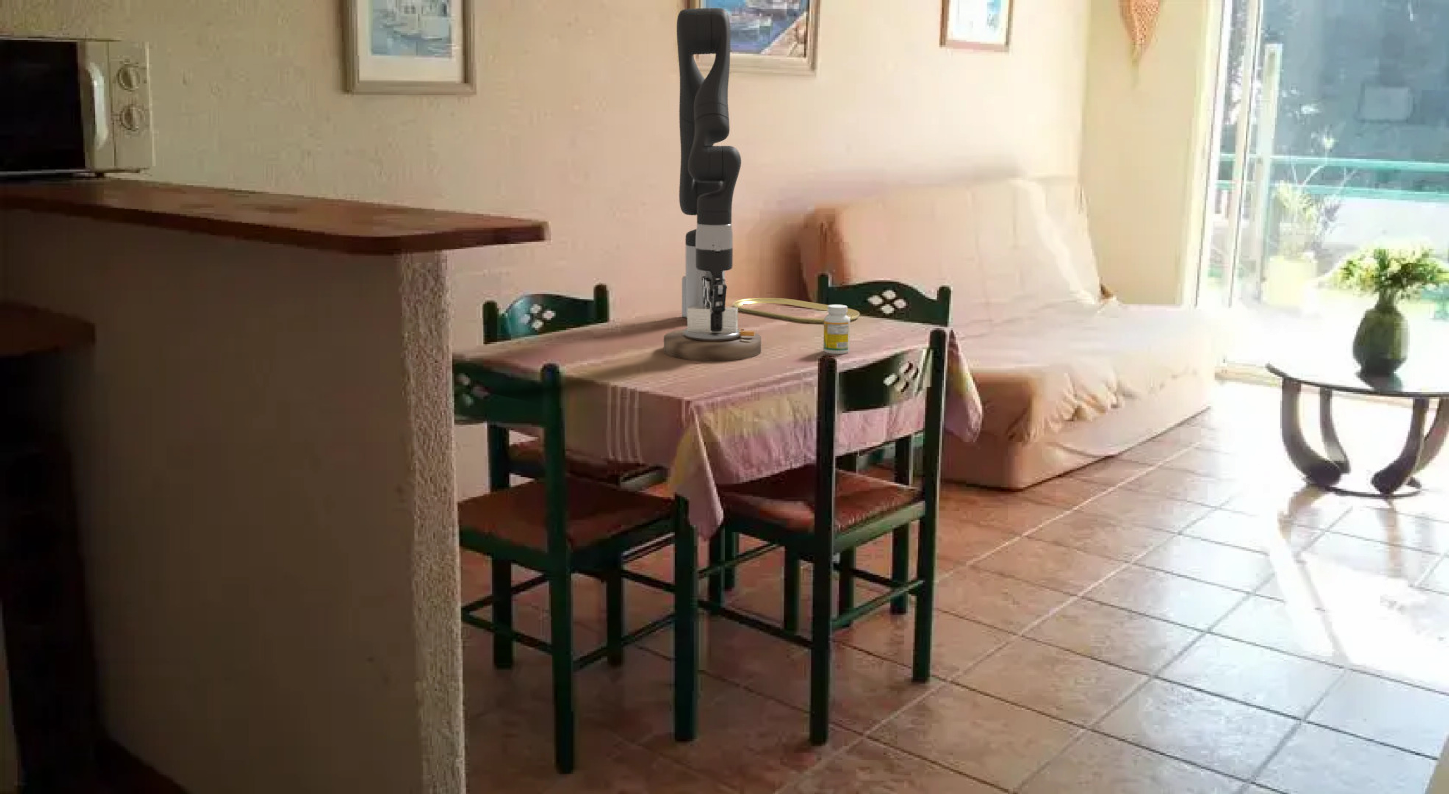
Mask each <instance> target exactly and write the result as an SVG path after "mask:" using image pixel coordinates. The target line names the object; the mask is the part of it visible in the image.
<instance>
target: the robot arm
mask: <svg viewBox="0 0 1449 794" xmlns="http://www.w3.org/2000/svg"><path fill="white" fill-rule="evenodd" d="M730 21H731V20H730V17H729V14H728V12H727V10H726V9H725V8H719V7H705V8H704V7H701V8H699V7H697V8H696V7H695V8H684V9H682V10H680V12H678V15H677V19H676V42H677V43H676V44H677V55H678V56H677V57H678V68H679V69H678V70H679V71H678V72H679V105H678V106H679V111H678V112H679V115H678V116H679V141H680V170H679V189H678V191H679V193H678V195H679V196H678V197H679V199H678V200H679V208H680V210H681V212H682V213H683V214H684V215H687V216H696V228H695V229H692V230H690V231H688V232H686V233H685V275H683V276H682V278H681V317H683V318H686V319H687V308H688V307H689V306H706V307H710V329H711V331H712V332H720V331H721V330H722V313H723V312H724V311H725V307H726V299H727V298H726V297H727V290H728V287H727V284H726V279H725V278H726V276H725V274H726V272H727V271H730V270H732V269H733V265H734V264H733V261H734V259H733V257H734V255H733V253H734V252H733V251H734V250H733V244H734V243H733V241H734V236H733V235H734V234H733V226H732V223H733V222H732V215H733V214H732V213H733V212H732V208H733V206H732V205H733V197H734V193H735V187H736V184H737V181H738V177H739V174H740V170H741V166H742V159H741V158H742V156H741V154H740V152H739V150H738V149H737V148H736V147H734V146H732V145H714V144H718V143H720V142H723V141H725V140H726V139H727V138H728V137H729V135H730V117H729V114H730V113H729V102H728V101H729V99H728V97H729V79H730V69H731V68H730V66H731V22H730ZM694 55H715V56H714V61H713V65H712V66H711V69H710V70H709V72H708V74H707V75H706V76H705V77H704V76H703V74H702V73H701V71H700V69H699V67H698V65H697V63H696V60H695V57H694ZM725 271H726V272H725Z"/></svg>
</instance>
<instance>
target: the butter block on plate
mask: <svg viewBox="0 0 1449 794" xmlns="http://www.w3.org/2000/svg"><path fill="white" fill-rule="evenodd" d="M686 321H687V328H685V330H684V329H683V330H684V331H683V336H684V337H685V338H688V339H691V340H698V341H729V340H735V339H739V338H741V337H742V336H754V335H755V333H756V330H740V329H741V328H740V329H739V327H738V325H739V322H738V321H739V310H738V308H735V307H734V306H732V307H729V306H728V307H727V306H725V311H724V312H723V313H722V330H721V331H720V332H712V331H711V329H710V307H706V306H689V307H688V308H687V318H686Z"/></svg>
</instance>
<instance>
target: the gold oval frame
mask: <svg viewBox="0 0 1449 794" xmlns="http://www.w3.org/2000/svg"><path fill="white" fill-rule="evenodd" d="M743 304H748V305H756V304H757V305H758V304H776V305H777V304H778V305H779V304H780V305H789V306H790V305H791V306H796V307H802V308H808V309H814V310H820V311H826V312H828V305H829V304H825V303H818V302H817V303H816V302H809V301H805V300H798V299H792V298H791V299H790V298H783V297H782V298H781V297H779V298H778V297H757V298H756V297H753V298H743V299H738V300H736V301H735V300H734V301H733V302H732V307H735V308H738V312H743V313H748V314H753V315H759V316H764V317H765V316H766V317H770V318H775V319H777V318H778V319H781V320H786V319H788V320H789V321H792V320H793V322H799V323H806V322H809V323H808V324H824V318H812V317H811V318H809V317H799V316H793V315H787V314H782V313H775V312H770V311H769V312H768V311H764V310H758V309H752V308H746V307H743V306H744V305H743ZM846 316H848V317H849V318H850V322H851V321H854V320H856V319H858V317H859V316H860V312H859V311H858V310H856V309H852V308H848V307H847V313H846ZM788 320H787V321H788Z"/></svg>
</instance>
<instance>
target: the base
mask: <svg viewBox="0 0 1449 794" xmlns="http://www.w3.org/2000/svg"><path fill="white" fill-rule="evenodd" d="M685 329H686V328H685ZM685 329H680V330H674V331H671V332H668V333H666V334H664V336H663V352H664V354H666V355H667V356H669V355H670V357H672V358H677V359H682V360H690V361H701V362H703V361H704V362H724V361H725V362H726V361H738V360H747V359H749V358H753V357H757V356H759V355H760V354H761V351H762V345H761V344H762V336H761V334H758V333H757V332H755V335H754V336H742V337H741V338H739V339H735V340H729V341H698V340H691V339H688V338H685V337H684V336H683V331H684V330H685ZM738 329H740V330H744V328H739V327H738Z"/></svg>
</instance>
